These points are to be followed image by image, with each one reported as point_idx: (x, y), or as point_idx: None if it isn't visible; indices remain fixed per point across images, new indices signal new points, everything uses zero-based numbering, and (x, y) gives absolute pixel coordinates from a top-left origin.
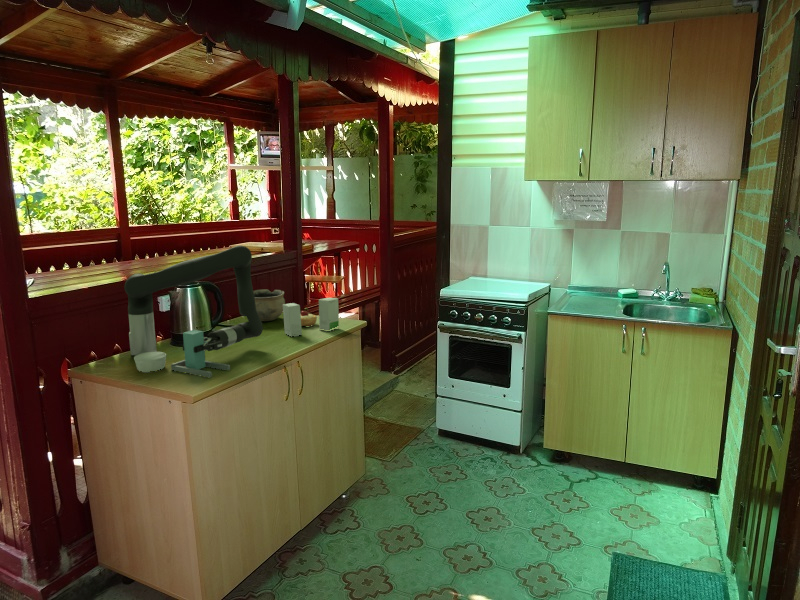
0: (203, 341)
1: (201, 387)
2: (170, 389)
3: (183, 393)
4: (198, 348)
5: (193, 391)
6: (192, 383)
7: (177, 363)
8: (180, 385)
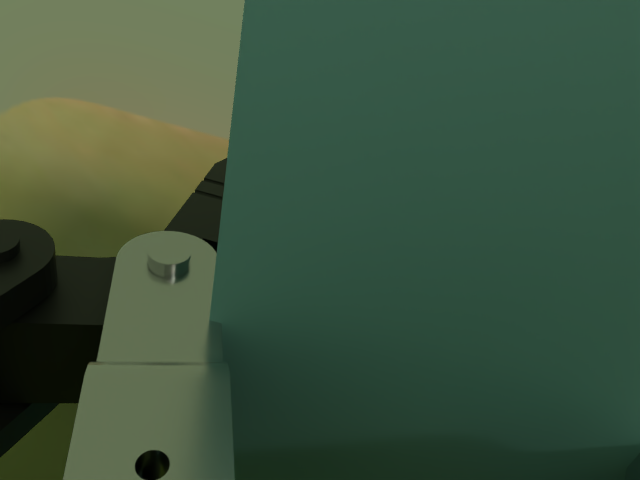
0: (221, 242)
1: (7, 156)
2: (224, 145)
3: (105, 106)
4: (214, 174)
5: (48, 119)
6: (117, 209)
7: None
8: (195, 185)
